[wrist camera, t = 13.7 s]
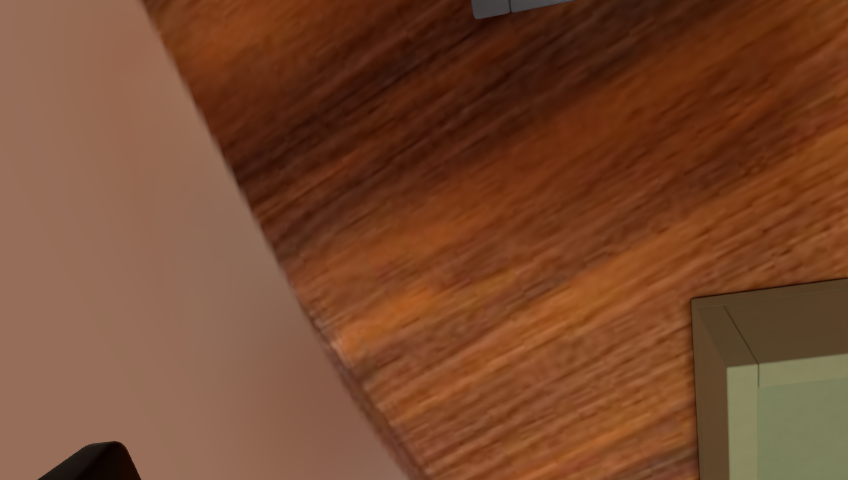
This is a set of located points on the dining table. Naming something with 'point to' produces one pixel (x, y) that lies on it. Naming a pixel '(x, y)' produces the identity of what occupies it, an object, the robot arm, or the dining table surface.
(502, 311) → the dining table surface
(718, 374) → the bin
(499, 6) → the gray square bin
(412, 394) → the dining table surface
